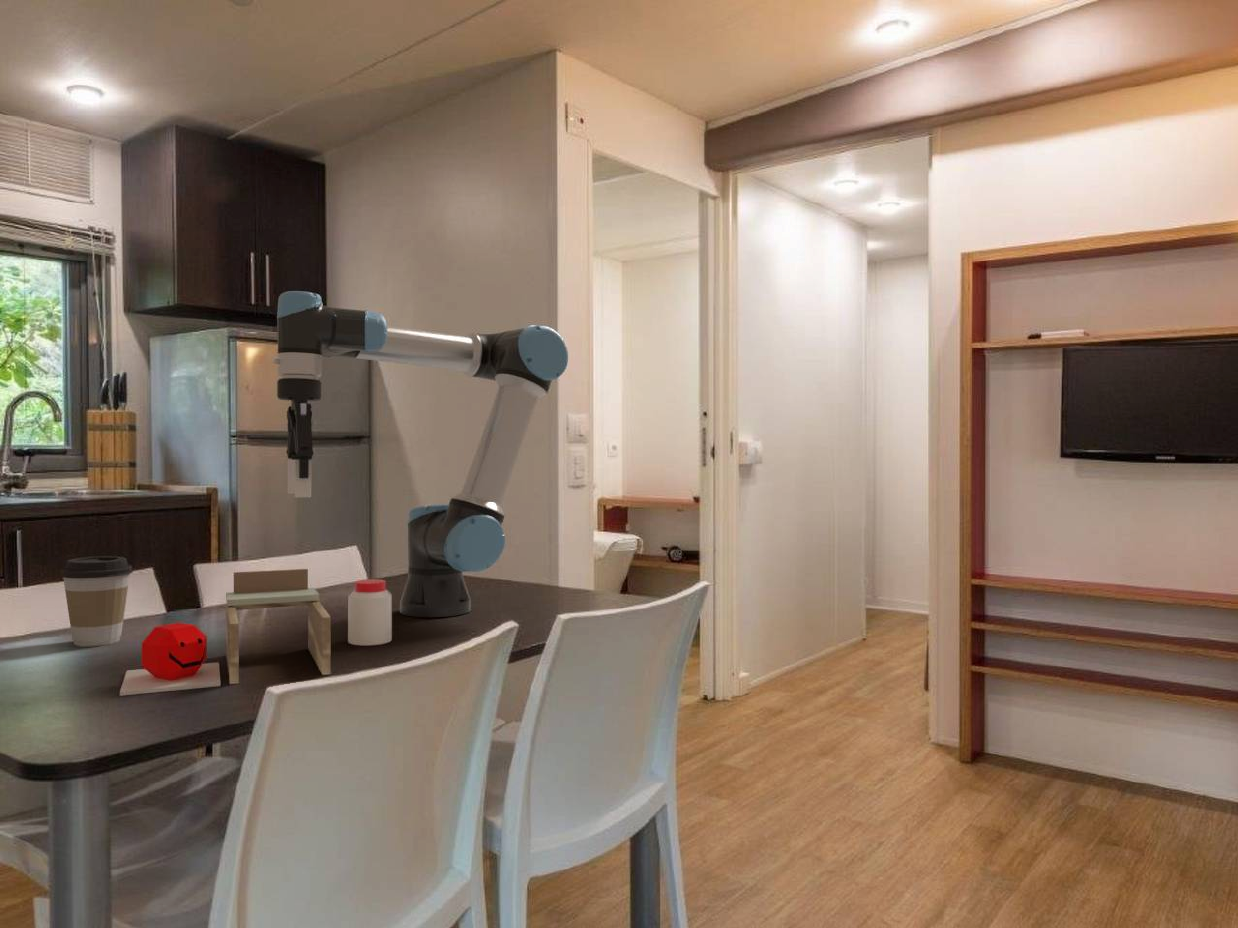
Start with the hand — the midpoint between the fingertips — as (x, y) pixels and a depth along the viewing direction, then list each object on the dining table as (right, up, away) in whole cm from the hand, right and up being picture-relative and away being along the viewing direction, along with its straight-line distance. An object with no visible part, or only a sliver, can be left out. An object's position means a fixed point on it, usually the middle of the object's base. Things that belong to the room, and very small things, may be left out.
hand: (299, 495), depth 159 cm
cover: (-1, -18, -9) cm, 20 cm away
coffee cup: (-36, -27, -1) cm, 45 cm away
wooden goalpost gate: (+2, -27, -16) cm, 32 cm away
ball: (-9, -27, -26) cm, 39 cm away
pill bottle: (+12, -27, +2) cm, 30 cm away
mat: (-10, -27, -26) cm, 39 cm away
